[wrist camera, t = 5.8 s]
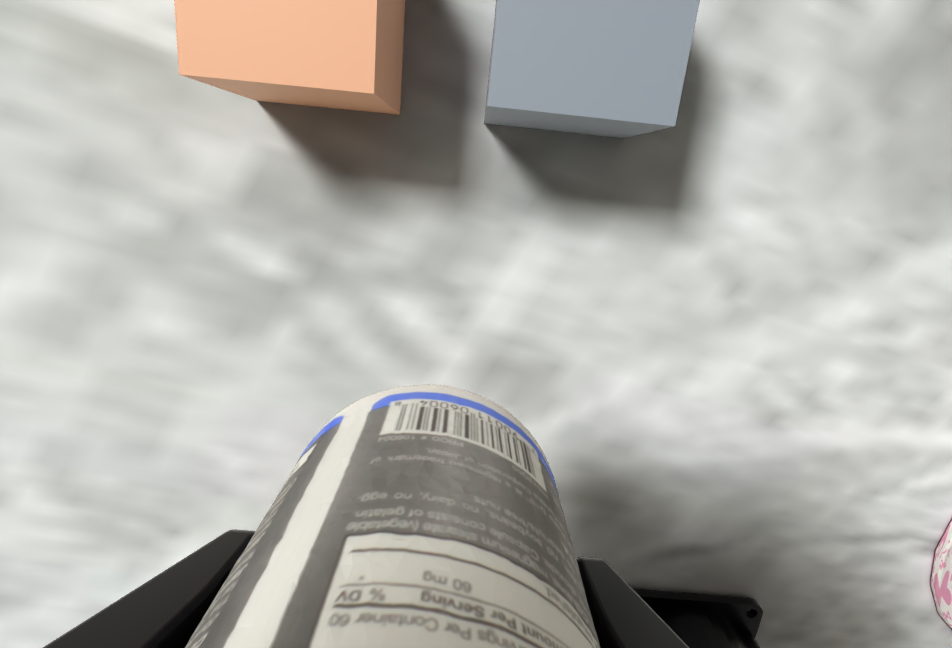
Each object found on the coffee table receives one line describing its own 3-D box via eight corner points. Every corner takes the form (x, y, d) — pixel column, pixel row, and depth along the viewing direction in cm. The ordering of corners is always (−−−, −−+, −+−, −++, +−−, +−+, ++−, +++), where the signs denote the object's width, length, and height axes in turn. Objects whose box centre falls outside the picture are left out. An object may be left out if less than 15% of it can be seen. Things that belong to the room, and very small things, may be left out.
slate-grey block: (650, -22, 17) (718, -98, 12) (622, 138, 18) (675, 126, 14) (500, -39, 17) (509, -124, 12) (484, 123, 18) (487, 105, 13)
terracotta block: (407, -49, 17) (381, -139, 12) (400, 115, 18) (373, 93, 13) (253, -66, 17) (163, -163, 12) (257, 101, 18) (179, 74, 13)
